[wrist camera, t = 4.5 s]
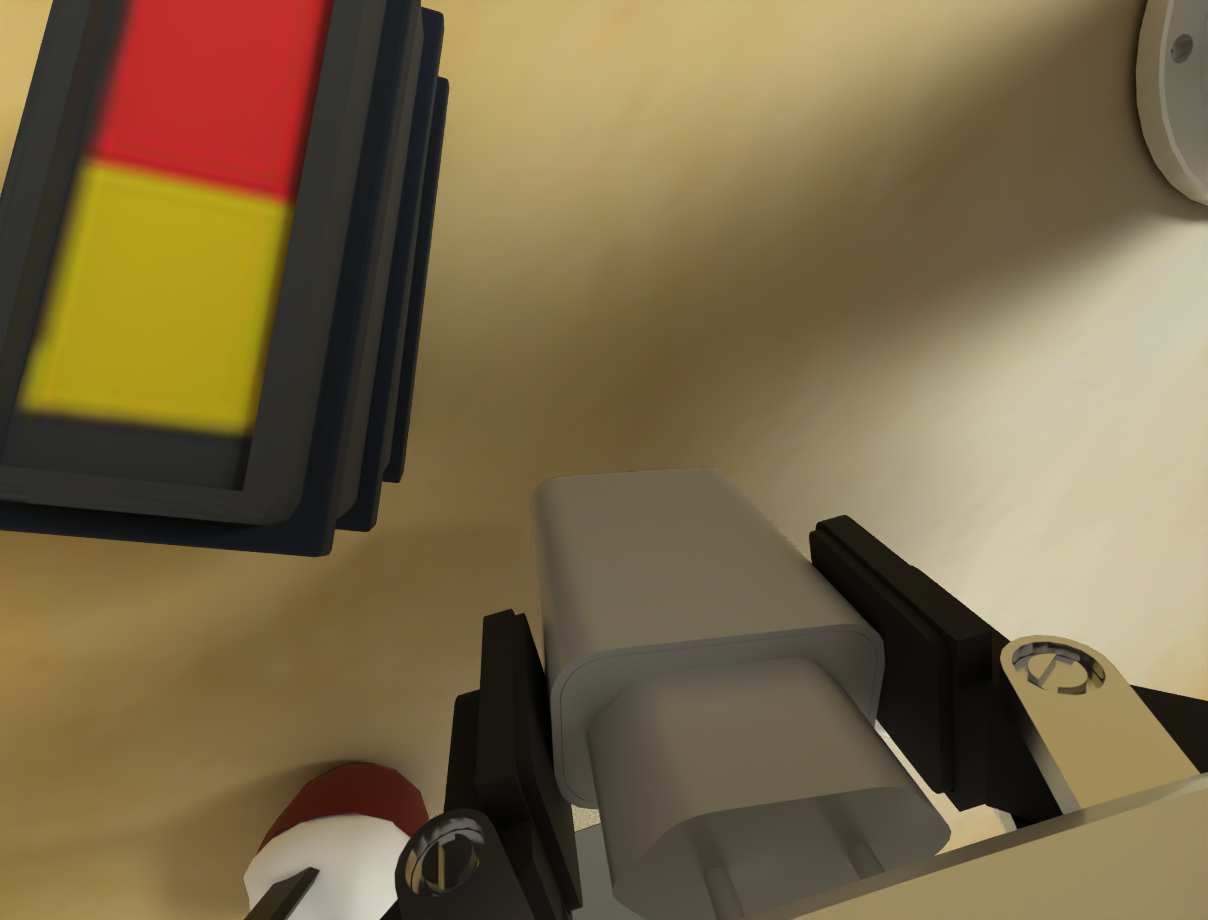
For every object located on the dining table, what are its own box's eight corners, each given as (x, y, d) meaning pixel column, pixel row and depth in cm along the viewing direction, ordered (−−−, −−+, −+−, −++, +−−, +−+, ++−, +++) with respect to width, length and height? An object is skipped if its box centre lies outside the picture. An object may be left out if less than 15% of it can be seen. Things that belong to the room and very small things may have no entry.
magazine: (278, 535, 20) (-133, 523, 6) (342, 169, 22) (157, -517, 8) (397, 546, 21) (300, 561, 7) (448, 194, 23) (459, -381, 9)
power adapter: (727, 567, 17) (1132, 1155, 6) (535, 585, 17) (601, 1293, 5) (733, 464, 16) (1236, 949, 5) (528, 478, 16) (595, 1085, 4)
